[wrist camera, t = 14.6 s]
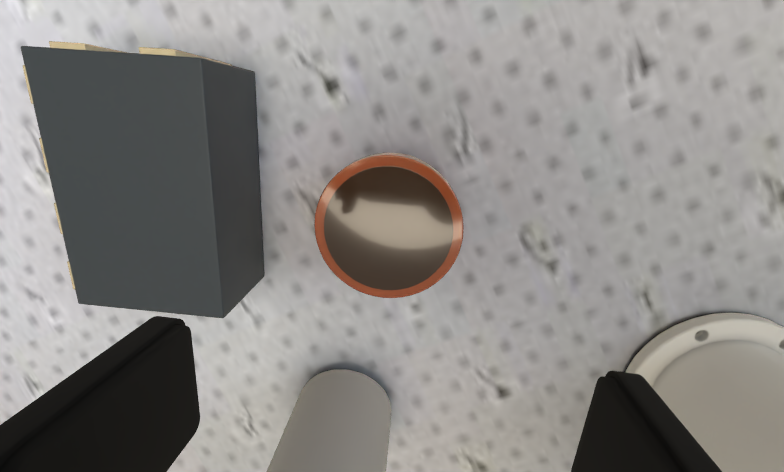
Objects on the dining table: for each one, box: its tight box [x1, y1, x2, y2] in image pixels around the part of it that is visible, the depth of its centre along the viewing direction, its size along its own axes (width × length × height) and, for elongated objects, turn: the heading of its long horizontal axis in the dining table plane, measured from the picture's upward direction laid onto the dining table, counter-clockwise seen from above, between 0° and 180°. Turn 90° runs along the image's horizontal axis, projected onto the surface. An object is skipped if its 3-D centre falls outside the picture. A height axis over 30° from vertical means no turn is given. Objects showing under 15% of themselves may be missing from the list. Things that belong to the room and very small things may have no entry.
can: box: [267, 370, 391, 472], centre depth 25 cm, size 8×8×12 cm
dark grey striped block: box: [21, 41, 264, 318], centre depth 23 cm, size 9×14×6 cm, turn 176°
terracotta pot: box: [315, 153, 464, 298], centre depth 22 cm, size 7×7×7 cm
